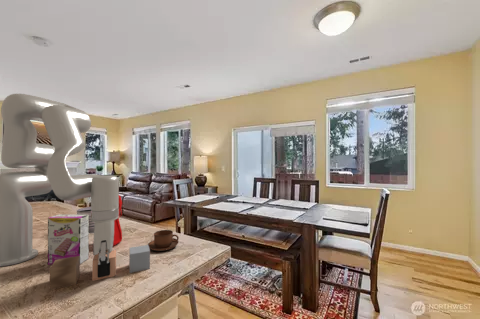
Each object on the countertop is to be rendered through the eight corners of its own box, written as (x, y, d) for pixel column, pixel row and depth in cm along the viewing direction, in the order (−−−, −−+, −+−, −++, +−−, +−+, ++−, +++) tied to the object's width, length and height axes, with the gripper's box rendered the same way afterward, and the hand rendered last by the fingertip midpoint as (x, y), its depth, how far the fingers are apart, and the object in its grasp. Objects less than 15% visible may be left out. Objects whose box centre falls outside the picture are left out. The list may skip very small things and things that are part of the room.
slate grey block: (129, 273, 71) (129, 254, 71) (129, 265, 76) (129, 247, 76) (149, 269, 73) (149, 250, 73) (148, 261, 79) (148, 244, 79)
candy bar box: (46, 265, 75) (46, 217, 75) (58, 259, 80) (58, 214, 80) (79, 265, 75) (80, 217, 75) (89, 258, 80) (89, 213, 80)
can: (83, 235, 105) (83, 210, 105) (72, 231, 111) (72, 207, 111) (108, 229, 114) (108, 206, 114) (96, 225, 120) (96, 203, 120)
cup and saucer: (177, 240, 99) (177, 226, 99) (179, 251, 88) (179, 235, 88) (148, 244, 95) (148, 229, 95) (147, 255, 84) (147, 239, 84)
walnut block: (49, 290, 61) (49, 268, 61) (55, 279, 67) (55, 259, 67) (76, 284, 64) (76, 263, 64) (79, 274, 69) (79, 255, 69)
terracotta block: (92, 281, 66) (92, 260, 66) (94, 271, 71) (94, 253, 71) (115, 276, 69) (115, 256, 69) (116, 267, 74) (116, 249, 74)
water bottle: (112, 249, 88) (113, 187, 88) (89, 247, 91) (90, 186, 91) (128, 241, 97) (129, 185, 97) (107, 239, 100) (107, 184, 100)
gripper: (94, 210, 76) (94, 261, 76) (86, 223, 61) (86, 287, 61) (119, 208, 79) (119, 257, 79) (117, 219, 64) (117, 281, 64)
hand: (104, 270), depth 70 cm, fingers open, 6 cm apart
